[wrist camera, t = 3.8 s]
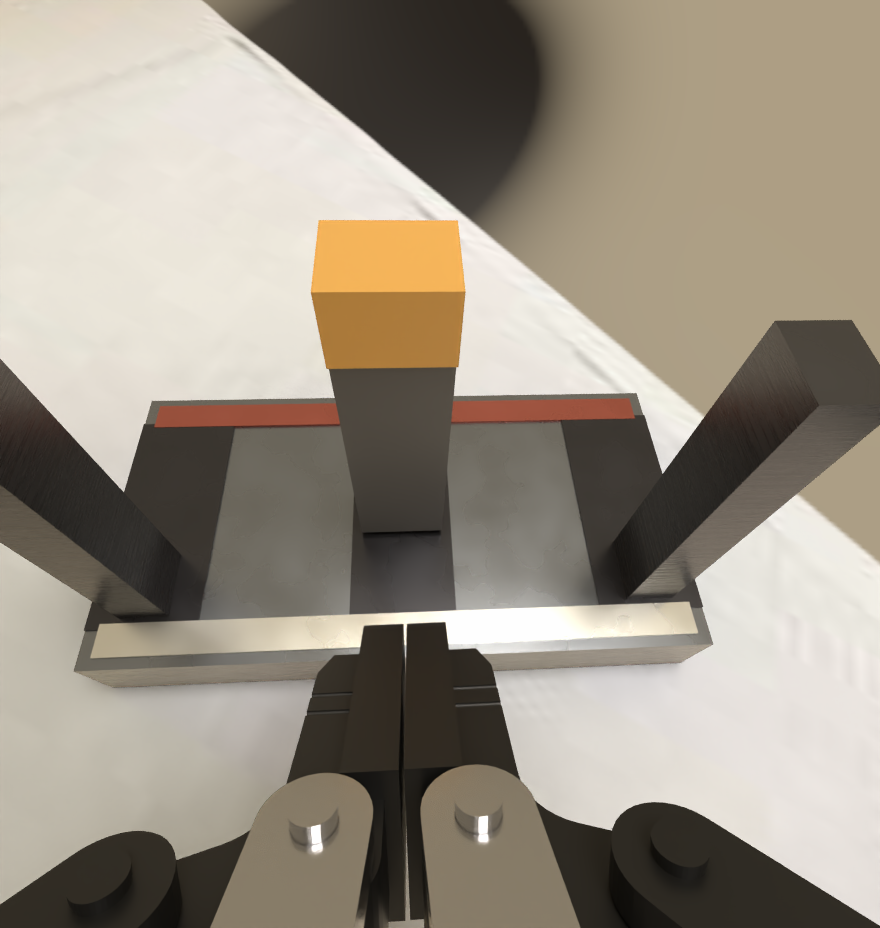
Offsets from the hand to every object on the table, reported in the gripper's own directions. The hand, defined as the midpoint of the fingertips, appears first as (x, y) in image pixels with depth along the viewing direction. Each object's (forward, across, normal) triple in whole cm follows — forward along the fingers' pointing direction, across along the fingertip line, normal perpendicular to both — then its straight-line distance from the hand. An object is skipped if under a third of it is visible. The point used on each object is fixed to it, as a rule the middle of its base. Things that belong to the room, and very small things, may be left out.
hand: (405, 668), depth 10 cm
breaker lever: (+13, 0, +1) cm, 13 cm away
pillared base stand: (+15, 0, +3) cm, 15 cm away
